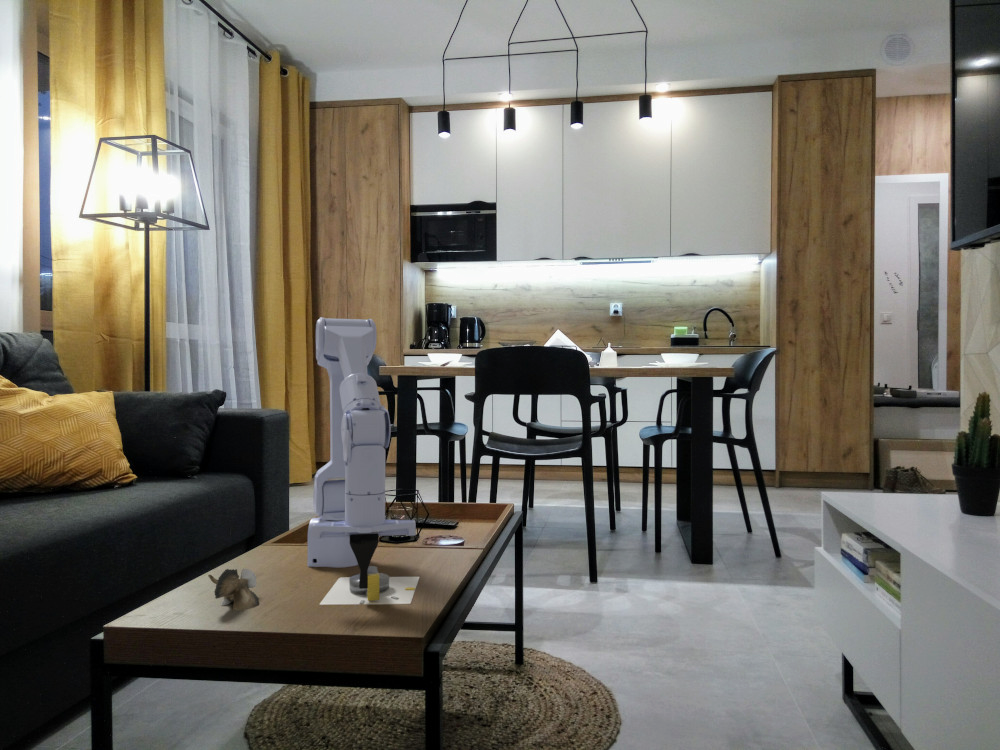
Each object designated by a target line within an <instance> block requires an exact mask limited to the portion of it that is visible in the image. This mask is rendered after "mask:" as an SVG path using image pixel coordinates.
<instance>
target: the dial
mask: <svg viewBox="0 0 1000 750" xmlns="http://www.w3.org/2000/svg"><path fill="white" fill-rule="evenodd" d="M367 573H368V587H367V588H364V589H359V576H360V573H357V574H354V575H352V576H349V577H350V579H349V590H350V591H352V592H355V593H362V594H366V595H367V600H368V601H372V600H379V592H382V591H385V590H387V589H388V588H389V577H390V575H389V574H387V573H384V572H383V573H382V572H379V570H378V567H377V566H375V565H369V567H368V570H367Z"/></svg>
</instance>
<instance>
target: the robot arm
mask: <svg viewBox="0 0 1000 750" xmlns="http://www.w3.org/2000/svg"><path fill="white" fill-rule="evenodd" d="M376 325H377V324H376V322H375V321H374V319H372V318H368V319H360V318H355V319H353V318H329V317H327V318H325V317H323V316H322V317H319V319H317V320H316V324H315V358H316V361H317V363H316V364H317V365H318V366H319V367H322V368H324V369H326V371H327V375H328V380H329V421H330V422H329V425H330V428H329V430H330V431H329V432H330V433H329V437H330V441H329V442H330V443H329V444H330V449H329V450H330V451H329V453H330V454H329V455H330V456H329V457H330V458H329V461H328V462H327V463H326V464H325V465H323V466H322V467H320V468H319V469H318V470H316V473H315V475H314V483H313V494H312V495H313V511H314V514H315V515H316V516H317V517H313V518H311V519H310V521H309V524H308V529H307V567H308V568H310V567H311V568H317V567H318V568H319V567H321V568H322V567H323V568H324V567H325V568H326V567H327V568H348V567H349V568H350V567H355V566H358V568H359V574H360V576H359V589H364V588H367V587H368V573H367V570H368V567H369V566H370V563H371V562H372V559H373V557H374V554H375V553H376V552H375V551H376V550H377V548H378V546H379V542H380V541H379V540H380V538H379V537H383V536H406V535H407V536H409V537H412V536H416V531H417V530H416V528H417V527H416V525H417V524H416V521H415V519H386V449H388V447H389V445H390V439H391V420H390V414H389V413H390V412H389V410H388V409H387V408H386V407H385V405H382V403H381V398H380V394H379V390H378V385H377V381H376V380H375V378H373V376H371V375H369V374H368V365H369V364H370V361H372V358H373V355H374V352H375V350H376V347H377V339H378V338H377V326H376ZM338 478H339V479H338ZM341 478H343V479H341ZM344 478H345V479H344ZM329 479H331V480H329ZM332 479H333V480H332ZM315 561H316V562H315Z"/></svg>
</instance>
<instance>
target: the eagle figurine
mask: <svg viewBox="0 0 1000 750" xmlns="http://www.w3.org/2000/svg"><path fill="white" fill-rule="evenodd" d="M208 578H209V580H210V581H211V582H212V583H213V584H215V588H214V591H213V592H214V596H215V597H214V599H216V600H218V599H220V598H222V601H221V603H220V604H219V607H223V606H228V605H230V604H231V603H232V602H233V605H232V606H233V607H232V611H246V610H250V609H253V608H257V607H258V606H260V601H259V597H258V595H257V594H256V593H255V592H253V591H252V590H251V589H253V588H255V587H257V576H256V573H255V572H254V571H253V570H251V569H248V568H243V569H242V570H241V573H240V575H239V574H238V569H237V568H235V569H234V568H233V569H229V568H226V569H225V570H223V572H222V573H221V574H220V576H219V577H218V579H216V577H214V576H213V575H212V574H208Z"/></svg>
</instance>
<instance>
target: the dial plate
mask: <svg viewBox="0 0 1000 750" xmlns="http://www.w3.org/2000/svg"><path fill="white" fill-rule="evenodd" d="M350 577H351V576H348V577H347V576H345V577H344V576H341V577H338V579H336V581H335V582H334V584H333V586H331V588H330V589H329V591H328V592H327V593H326V595H324V597H323V599H322V600H321V601H320V602H319V604H318V605H319V606H331V605H332V606H335V605H336V606H339V605H340V606H341V605H345V606H346V605H347V606H348V605H353V606H354V605H411V603H412V600H413V597H414V595H415V592H416V589H417V587H418V583H419V580H420V576H389V588H388V589H387V590H385V591H382V592H379V600H372V601H368V600H367V595H366V594H362V593H355V592H352V591H350V590H349V579H350Z"/></svg>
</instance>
